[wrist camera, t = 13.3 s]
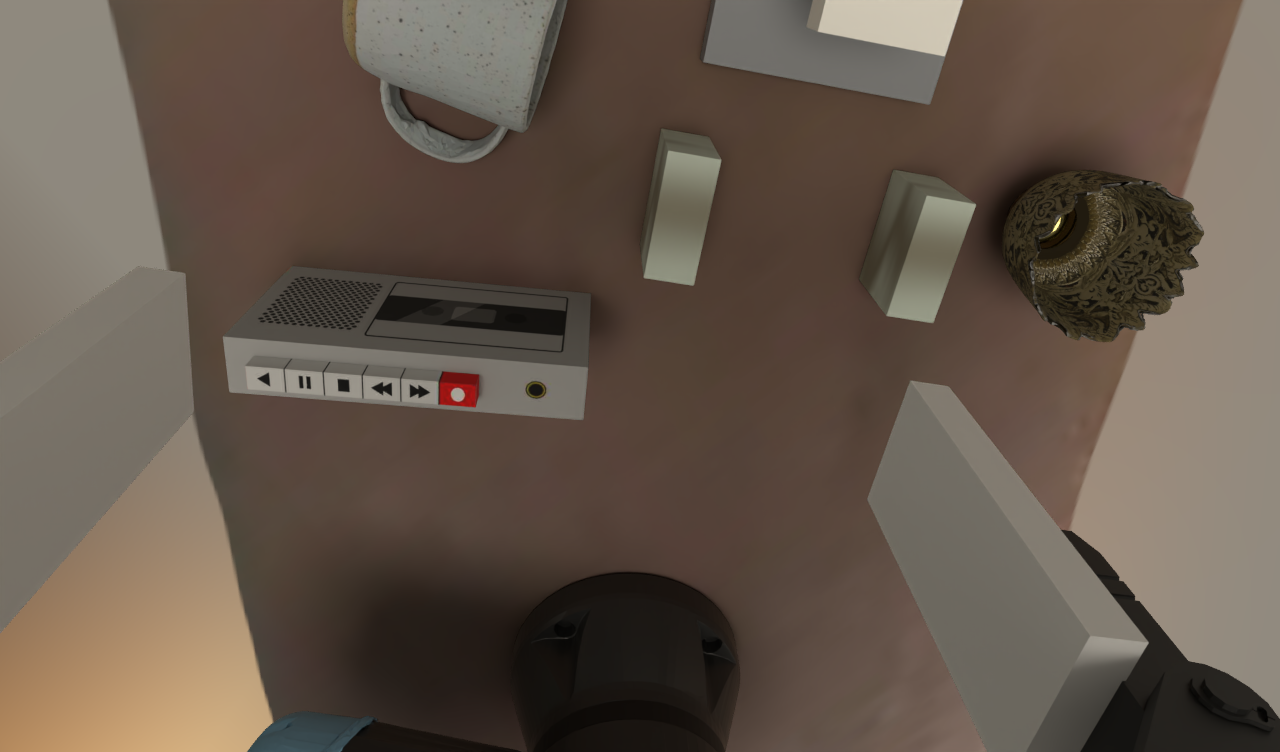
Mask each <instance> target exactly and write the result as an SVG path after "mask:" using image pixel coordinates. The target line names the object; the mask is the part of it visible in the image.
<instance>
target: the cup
mask: <svg viewBox="0 0 1280 752" xmlns="http://www.w3.org/2000/svg"><path fill="white" fill-rule="evenodd" d="M1193 210H1194V208H1193V205H1192V204H1191V203H1190V202H1188V201H1187V200H1185V199H1183V198H1179V197H1176V196H1174V195H1172V194H1171V193H1169V192H1168V191H1167V189H1166V188H1164V187H1161V184H1160V183H1156V182H1151V181H1145V180H1141V179H1137V178H1132V177H1128V176H1124V175H1119V174H1114V173H1109V172H1103V171H1095V170H1074V171H1067V172H1063V173H1059V174H1056V175H1054V176H1051V177H1048V178H1046V179H1044V180H1042V181H1040V182H1039V183H1037V184H1035V185H1034V186H1033V187H1031V188H1030V189H1028V190H1026V191H1025V192H1023V193H1022V194H1021V195H1020V196H1018V197H1017V199H1016V200H1015V201H1014V202H1013V204H1012V205H1011V207H1010V209H1009V212H1008V215H1007V220H1006V222H1005V226H1004V229H1003V235H1002V252H1003V257H1004V260H1005V263H1006V266H1007V269H1008V271H1009V273H1010V275H1011V276H1012V278H1013V280H1014V281H1015V283H1016V284H1017V286H1018V287H1019V288H1020V290H1021V291H1022V292H1023V294H1024V295H1025V296H1026V298H1027V299H1028V300H1029V301H1030V303H1031V304H1032V305H1033V306H1034V308H1035V309H1036V310H1037V311H1038V313H1039V314H1040V316H1041V318H1042V319H1043V320H1044V321H1046V320H1047V321H1048V322H1049V323H1050V324H1052V325H1055V326H1056V327H1058V328H1060V329H1061V330H1062V331H1063V332H1064V334H1065V335H1066V336H1068V337H1070V338H1072V339H1075V340H1080V338H1081V336H1082V337H1085V338H1087V339H1089V340H1093V341H1098V342H1112V341H1113V340H1114V339H1115V338H1116V337H1117V336H1118V334H1119V332H1120V331H1121V330H1122V329H1123V328H1124V327H1125V328H1129V329H1131V330H1136V331H1138V330H1143V329H1145V319H1144V316H1143V313H1145V314H1151V315H1160V314H1163V313H1166V312H1167V311H1168V310H1169V309H1170V306H1171V304H1172V301H1171V298H1174V297H1178V296H1183V295H1184V287H1183V283H1182V280H1183V277H1182V275H1181V274H1180V272H1179V271H1180V270H1190V269H1193V268H1196V267H1198V266H1199V265H1198V262H1197V261H1196V259H1195V258H1194V256H1193V255H1192V254H1191V251H1192V249H1193V248H1194V247H1195V246H1197V245H1198V244H1199V242H1200V240H1201V238H1202V236H1203V235H1204V231H1203V229H1202V227H1201V225H1200V224H1199V222H1198V221H1197V220H1196V218H1195V216H1194V215H1193V214H1192V211H1193ZM1140 313H1142V314H1141V315H1140ZM1141 316H1142V318H1141Z"/></svg>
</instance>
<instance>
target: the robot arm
mask: <svg viewBox="0 0 1280 752" xmlns="http://www.w3.org/2000/svg"><path fill="white" fill-rule="evenodd" d="M193 412H194V404H193V388H192V372H191V357H190V341H189V325H188V310H187V294H186V278H185V273H181V272H174V271H167V270H160V269H153V268H147V267H140V266H138V267H136V268H135V269H134V270H132V271H131V272H129V273H128V274H126V275H125V276H123V277H122V278H120V279H119V280H118V281H116V282H115V283H113V284H112V285H110V286H109V287H108V288H106V289H105V290H103V291H102V292H100V293H99V294H98V295H96V296H95V297H93V298H92V299H90V300H89V301H87V302H86V303H84V304H83V305H81V306H80V307H79V308H77V309H76V310H74V311H73V312H71V313H70V314H68V315H67V316H66V317H64V318H63V319H61V320H60V321H58V322H57V323H56V324H54V325H53V326H51V327H50V328H48V329H47V330H45V331H44V332H42V333H41V334H40V335H38V336H37V337H35V338H34V339H32V340H31V341H29V342H28V343H27V344H25V345H24V346H22V347H21V348H19V349H18V350H16V351H15V352H14V353H12V354H11V355H9V356H8V357H6V358H5V359H3V360H2V361H1V362H0V633H1V632H2V631H3V629H4V628H5V627H6V626H7V625H8V624H9V623H10V621H11V620H12V619H13V618H14V617H15V616H16V615H17V613H18V612H19V611H20V610H21V609H22V608H23V607H24V605H25V604H26V603H27V602H28V601H29V600H30V599H31V597H32V596H33V595H34V594H35V593H36V592H37V591H38V589H39V588H40V587H41V586H42V585H43V584H44V583H45V581H46V580H47V579H48V578H49V577H50V576H51V575H52V573H53V572H54V571H55V570H56V569H57V568H58V567H59V565H60V564H61V563H62V562H63V561H64V560H65V559H66V557H67V556H68V555H69V554H70V553H71V552H72V551H73V549H74V548H75V547H76V546H77V545H78V543H80V541H81V540H82V539H83V538H84V537H85V536H86V535H87V533H88V532H89V531H90V530H91V529H92V528H93V527H94V525H95V524H96V523H97V522H98V521H99V520H100V519H101V517H102V516H103V515H104V514H105V513H106V512H107V511H108V509H109V508H110V507H111V506H112V505H113V504H114V503H115V501H116V500H117V499H118V498H119V497H120V495H122V493H123V492H124V491H125V490H126V489H127V488H128V486H129V485H130V484H131V483H132V482H133V481H134V480H135V479H136V477H137V476H138V475H139V474H140V473H141V472H142V471H143V469H144V468H145V467H146V466H147V465H148V464H149V463H150V461H151V460H152V459H153V458H154V457H155V456H156V455H157V453H158V452H159V451H160V450H161V449H162V448H163V447H164V445H165V444H166V443H167V442H168V441H169V440H170V439H171V437H172V436H173V435H174V434H175V433H176V432H177V431H178V429H179V428H180V427H181V426H182V425H183V424H184V423H185V421H186V420H187V419H188V418H189V417H190V416H191V415H192V413H193ZM867 500H868V502H869V504H870V506H871V508H872V511H873V513H874V515H875V517H876V519H877V521H878V523H879V525H880V527H881V529H882V532H883V534H884V536H885V538H886V540H887V542H888V544H889V546H890V548H891V551H892V553H893V555H894V557H895V559H896V561H897V563H898V565H899V567H900V569H901V572H902V574H903V576H904V578H905V580H906V582H907V584H908V586H909V588H910V590H911V593H912V595H913V597H914V599H915V601H916V603H917V605H918V607H919V609H920V611H921V614H922V616H923V618H924V620H925V622H926V624H927V626H928V628H929V630H930V632H931V635H932V637H933V639H934V641H935V643H936V645H937V647H938V649H939V651H940V653H941V656H942V658H943V660H944V662H945V664H946V666H947V668H948V670H949V672H950V675H951V677H952V679H953V681H954V683H955V685H956V687H957V689H958V691H959V693H960V696H961V698H962V700H963V702H964V704H965V706H966V708H967V710H968V712H969V714H970V717H971V719H972V721H973V723H974V725H975V727H976V729H977V731H978V733H979V735H980V738H981V740H982V742H983V744H984V746H985V748H986V750H987V752H1280V719H1279V718H1278V716H1277V715H1276V713H1275V712H1274V711H1273V709H1272V708H1271V707H1270V706H1269V704H1268V703H1267V702H1266V701H1265V700H1263V699H1262V698H1261V697H1260V696H1259V695H1258V694H1257V693H1255V692H1254V691H1253V690H1252V689H1251V688H1250V687H1248V686H1246V685H1245V684H1243V683H1242V682H1240V681H1238V680H1237V679H1235V678H1234V677H1232V676H1230V675H1229V674H1227V673H1225V672H1222V671H1220V670H1217V669H1215V668H1212V667H1210V666H1208V665H1205V664H1199V663H1195V662H1190V661H1188V660H1187V659H1186V658H1185V657H1184V655H1183V654H1182V653H1181V652H1180V650H1179V649H1178V648H1177V647H1176V645H1175V644H1174V643H1173V642H1172V641H1171V639H1170V638H1169V637H1168V636H1167V634H1166V633H1165V632H1164V631H1163V630H1162V628H1161V627H1160V626H1159V625H1158V623H1157V622H1156V621H1155V620H1154V619H1153V617H1152V616H1151V615H1150V614H1149V612H1148V611H1147V610H1146V609H1145V607H1144V606H1143V605H1142V604H1141V603H1140V601H1135V595H1134V594H1133V593H1132V592H1131V590H1130V589H1129V588H1128V587H1127V585H1126V584H1125V583H1124V582H1123V581H1119V576H1118V575H1117V573H1116V572H1115V571H1114V570H1113V568H1112V567H1111V566H1110V565H1109V564H1108V562H1107V561H1106V560H1105V559H1104V557H1103V556H1102V555H1101V554H1100V553H1099V552H1098V551H1097V550H1095V549H1094V548H1092V547H1091V546H1090V545H1089V544H1087V543H1086V542H1085V541H1084V540H1082V539H1081V538H1080V537H1078V536H1077V535H1076V534H1075V533H1073V532H1072V531H1066V530H1060V528H1059V527H1058V526H1057V524H1056V523H1055V522H1054V521H1053V519H1052V518H1051V517H1050V516H1049V514H1048V513H1047V512H1046V510H1045V509H1044V508H1043V507H1042V505H1041V504H1040V503H1039V501H1038V500H1037V499H1036V498H1035V496H1034V495H1033V494H1032V492H1031V491H1030V490H1029V489H1028V487H1027V486H1026V485H1025V484H1024V482H1023V481H1022V480H1021V478H1020V477H1019V476H1018V475H1017V473H1016V472H1015V471H1014V469H1013V468H1012V467H1011V466H1010V464H1009V463H1008V462H1007V461H1006V459H1005V458H1004V457H1003V455H1002V454H1001V453H1000V452H999V450H998V449H997V448H996V446H995V445H994V444H993V443H992V441H991V440H990V439H989V437H988V436H987V435H986V434H985V432H984V431H983V430H982V429H981V427H980V426H979V425H978V423H977V422H976V421H975V420H974V418H973V417H972V416H971V414H970V413H969V412H968V411H967V409H966V408H965V407H964V405H963V404H962V403H961V402H960V400H959V399H958V398H957V397H956V395H955V394H954V393H953V391H952V390H951V389H950V388H949V386H944V385H937V384H930V383H923V382H917V381H910V383H909V386H908V388H907V391H906V394H905V397H904V399H903V402H902V405H901V408H900V410H899V413H898V416H897V419H896V421H895V424H894V427H893V430H892V432H891V435H890V438H889V441H888V443H887V446H886V449H885V452H884V454H883V457H882V460H881V463H880V465H879V468H878V471H877V474H876V477H875V479H874V482H873V485H872V488H871V490H870V493H869V496H868V499H867ZM510 683H511V694H512V698H513V702H514V706H515V709H516V713H517V716H518V720H519V723H520V727H521V730H522V734H523V737H524V741H525V744H526V748H527V751H528V752H725V751H726V746H727V742H728V737H729V733H730V728H731V723H732V719H733V714H734V710H735V705H736V701H737V696H738V691H739V685H740V667H739V660H738V655H737V649H736V644H735V639H734V636H733V633H732V630H731V628H730V626H729V624H728V622H727V620H726V619H725V617H724V616H723V614H722V613H721V612H720V611H719V609H718V608H717V607H716V606H715V605H714V604H713V603H712V602H710V601H709V600H708V599H707V598H706V597H704V596H703V595H701V594H700V593H698V592H697V591H695V590H693V589H691V588H689V587H687V586H685V585H683V584H680V583H678V582H675V581H672V580H669V579H665V578H662V577H657V576H651V575H644V574H612V575H605V576H599V577H594V578H590V579H587V580H583V581H580V582H577V583H575V584H572V585H570V586H568V587H566V588H564V589H562V590H560V591H558V592H556V593H555V594H553V595H552V596H550V597H549V598H547V599H546V600H545V601H543V602H542V603H541V604H540V605H539V606H538V607H537V608H535V610H534V611H533V612H532V613H531V614H530V615H529V616H528V618H527V619H526V620H525V622H524V624H523V625H522V627H521V629H520V631H519V633H518V635H517V638H516V641H515V645H514V650H513V658H512V666H511V676H510ZM247 752H520V751H518V750H513V749H508V748H503V747H498V746H493V745H488V744H483V743H478V742H473V741H468V740H463V739H458V738H453V737H448V736H443V735H438V734H433V733H428V732H423V731H418V730H413V729H408V728H403V727H399V726H394V725H390V724H385V723H381V722H378V719H376V718H374V717H370V716H365V717H363V718H361V719H360V718H352V717H345V716H338V715H330V714H323V713H316V712H309V711H302V712H295V713H291V714H289V715H286V716H284V717H282V718H280V719H278V720H277V721H275V722H274V723H272V724H271V725H270V726H269V727H268V728H266V729H265V731H264V732H263V733H262V734H261V735H260V736H259V737H258V738H257V740H256V741H255V742H254V743H253V745H252V746H251V747H250V749H249V750H248V751H247Z"/></svg>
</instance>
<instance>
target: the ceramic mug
mask: <svg viewBox="0 0 1280 752" xmlns="http://www.w3.org/2000/svg"><path fill="white" fill-rule="evenodd" d="M566 4H567V0H343V15H342V25H343V35H344V42H345V44H346V47H347V49H348V52H349V54H350V56H351V58H352V59H353V60H354V61H355V63H357V64H358V65H359V66H360V67H361V68H363V69H364V70H366V71H368V72H369V73H371V74H373V75H375V76H377V77H378V78H380V79H381V85H380V92H381V102H382V105H383V108H384V111H385V114H386V117H387V119H388V121H389V122H390V124H391V125H392V126H393V128H394V129H395V130H396V132H397V133H398V134H399V135H400V136H401V137H402V138H403V139H404V140H405V141H406V142H408V143H409V144H410V145H412V146H413V147H415V148H417V149H418V150H420V151H421V152H423V153H425V154H427V155H429V156H432V157H434V158H437V159H440V160H443V161H447V162H452V163H467V162H472V161H475V160H477V159H479V158H482V157H484V156H485V155H487V154H488V153H490V152H491V151H492V150H493V149H494V148H495V147H496V146H497V145H498V144H499V143H500V142H501V141H502V139H503V137H504V136H505V134H506V132H507V130H508V129H511V130H513V131H517V132H521V133H523V132H525V131H526V130H527V129H528V127H529V125H530V123H531V120H532V117H533V115H534V112H535V110H536V106H537V103H538V101H539V98H540V96H541V91H542V89H543V86H544V83H545V79H546V76H547V74H548V70H549V65H550V62H551V58H552V55H553V52H554V49H555V46H556V42H557V39H558V35H559V31H560V27H561V23H562V20H563V17H564V11H565V8H566ZM399 87H400V88H403V89H406V90H409V91H412V92H415V93H418V94H421V95H424V96H427V97H430V98H433V99H435V100H438V101H440V102H442V103H445V104H447V105H450V106H452V107H455V108H457V109H460V110H462V111H465V112H467V113H470V114H472V115H475V116H477V117H480V118H482V119H485V120H487V121H490V122H493V123H495V124H498V126H497V127H496V128H495V130H494V131H493V132H492V133H491V134H489V135H488V136H486V137H484V138H483V139H480V140H475V141H470V140H461V139H458V138H455V137H453V136H450V135H448V134H445V133H443V132H441V131H439V130H436V129H434V128H432V127H430V126H428V125H427V124H426V123H425V122H424V121H420V120H416V119H415V118H414V117H413V116H412V115H411V114H410V113H409V111H408V110H407V108H406V107H405V105H404V103H403V101H402V99H401V96H400V90H399Z"/></svg>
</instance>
